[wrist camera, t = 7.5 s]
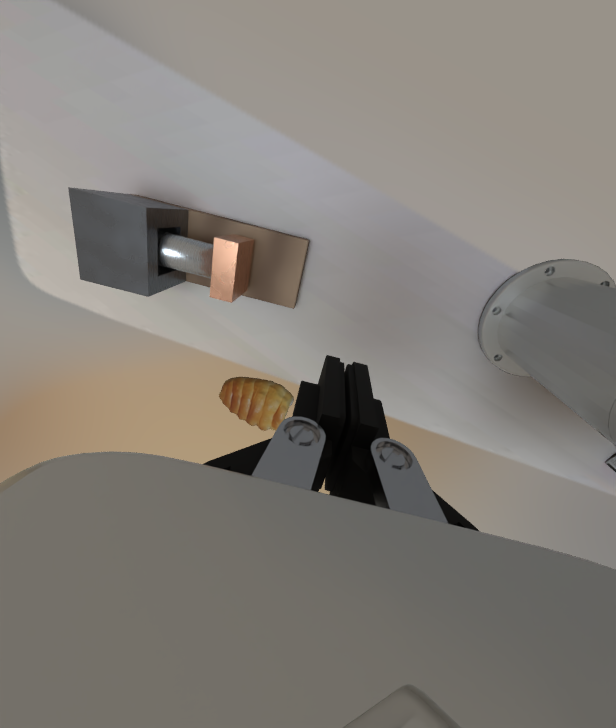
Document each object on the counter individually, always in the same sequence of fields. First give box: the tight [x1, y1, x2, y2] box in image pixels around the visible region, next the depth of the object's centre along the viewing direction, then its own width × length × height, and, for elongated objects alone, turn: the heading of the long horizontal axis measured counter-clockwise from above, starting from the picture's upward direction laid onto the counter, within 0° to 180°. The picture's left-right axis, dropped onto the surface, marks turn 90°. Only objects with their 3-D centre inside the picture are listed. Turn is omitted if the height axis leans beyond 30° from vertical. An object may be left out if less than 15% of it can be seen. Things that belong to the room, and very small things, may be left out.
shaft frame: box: [68, 187, 310, 309], centre depth 28 cm, size 18×7×8 cm, turn 77°
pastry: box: [219, 377, 294, 431], centre depth 38 cm, size 9×7×4 cm
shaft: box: [157, 230, 254, 303], centre depth 27 cm, size 13×5×5 cm, turn 77°
